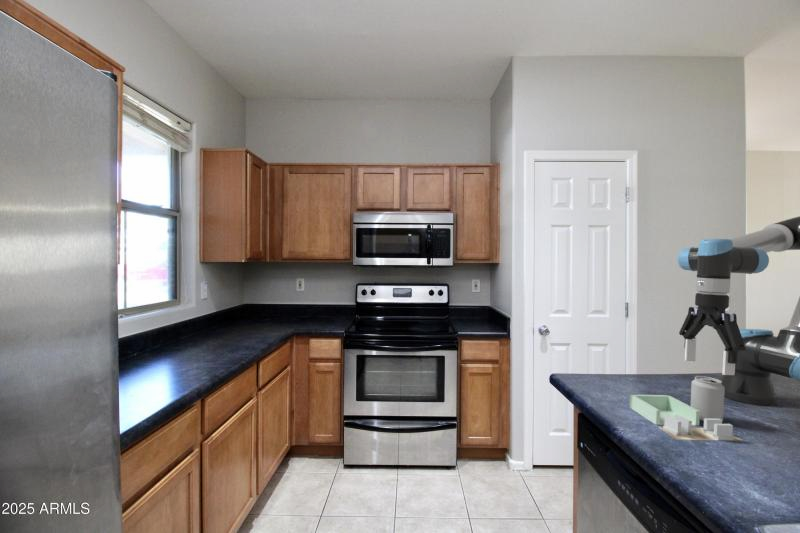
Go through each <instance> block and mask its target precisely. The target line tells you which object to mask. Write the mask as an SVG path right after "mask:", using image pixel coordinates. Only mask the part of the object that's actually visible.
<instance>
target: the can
mask: <svg viewBox="0 0 800 533" xmlns="http://www.w3.org/2000/svg"><path fill="white" fill-rule="evenodd" d="M721 383H722V381H720V379H718V378H713V377H711V376H705V375H704V376H703V375H696V376H694V379H693V380H691V387H690V406H691V407H693V408H695V409H696V410H698V411H700V421H702V422H704V418H716V419H721V420H722V423H723V421H724V412H725V411H724V409H725V407H724V406H725V405H724V404H725V397H724V392H725V387H724V386H723V385H722V384H721Z"/></svg>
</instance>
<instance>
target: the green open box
mask: <svg viewBox="0 0 800 533" xmlns="http://www.w3.org/2000/svg"><path fill="white" fill-rule="evenodd" d="M629 409H630V410H633V411H634V412H636V413H637V414H639V415H640V416H642V417H644V418H645V419H646V420H647V421H650V422H651V423H652V424H654V425H655V426H664V423H665V415H669V416H671V417H673V418H675V415H680V416H682V417H685V418H687V419H689V420H691V421H692V426H700V421H701V420H700V411H698V410H696V409H695V408H693V407H691V405H689V404H687V403H685V402H683V401H681V400H679V399H677V398H675V397H674V396H671V395H670V394H665V395H664V394H629Z"/></svg>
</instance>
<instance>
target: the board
mask: <svg viewBox="0 0 800 533" xmlns="http://www.w3.org/2000/svg"><path fill="white" fill-rule="evenodd" d="M657 428H659V429H660V430H661V431H663V432H664V433H666V434H668V435H669V436H671V437H672V438H674V439H675V440H678V441H718V440H717V439H715V438H713V437H712V436H710V435H708V434H706V433H705V432H703V431H702V428H703V427H692V429H691V431H693V434H692V435H679V436H676V435H674V434H672V433H670V432H668V431H666V430H664V429H663V426H662V427H661V426H658V427H657ZM732 437H734V440H730V441H733V442H734V441H737V442H738V441H740V442H741V441H742V442H744V439H741V438H740V437H738V436H736V435H733V434H732Z"/></svg>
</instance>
